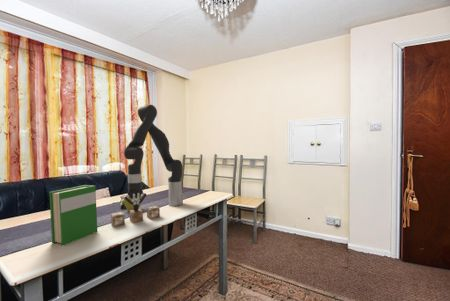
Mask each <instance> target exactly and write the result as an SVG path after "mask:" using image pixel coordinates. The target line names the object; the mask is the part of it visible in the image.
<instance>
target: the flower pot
mask: <svg viewBox="0 0 450 301" xmlns="http://www.w3.org/2000/svg"><path fill="white" fill-rule="evenodd" d="M128 197H129V198H128V199H129V200H130V201H131V202H132V199H131V198H130V196H128ZM141 197H142V195H141V196H140V198H141ZM140 198H139V200H140ZM135 200H136V199H135ZM123 201H124V206H125V208H126V210H127V211H129V212H130V210H133V204H130V203H129V202H128V201H127V200H126V199H125V198H124V197H123ZM135 202H136V201H135ZM141 204H142V203H139V208H140V207H141V206H142V205H141Z"/></svg>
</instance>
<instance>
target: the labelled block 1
mask: <svg viewBox="0 0 450 301" xmlns="http://www.w3.org/2000/svg"><path fill="white" fill-rule="evenodd" d="M125 219H126V218H125V213H124V212H123V211H119V212H113V213H110V224H111V226H112V228H115V227H122V226H125V225H126V222H125V221H126V220H125Z"/></svg>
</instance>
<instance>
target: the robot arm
mask: <svg viewBox="0 0 450 301" xmlns="http://www.w3.org/2000/svg"><path fill="white" fill-rule="evenodd" d="M157 110H158V109H157V108H156V106H155V105H154V104H147V105H144V106H140V107H139V108H138V109H137V115H138V117H139V120H140V122H142V123H141V124H140V125H139V126H138V127H137V129H136V130H135V131H134V134H133V136H132V139H131V141H130V142H129V143H128V144H127V146H126V148H124V152H123V154H124V158H125V159H127V160H131V161H132V160H134V162H133V163H130V164H128V165H127V173H128V175H127V190H128V191H127V192H126V195H124V196H123V199H124V198H125V199H126V200H127V201H128V202H129V203H130V204H133V210H134V211H138V209H140V207H139V203H141V204H142V203H143V201H144V200H145V198H146V197H147V196H148V195H147V193H145V192H144V191H143V181H142V180H143V179H142V164H143V158H144V150H143V149H142V148H141V147H144V144H145V141H146V138H147V135H148V134H149V135H150V138H151V139H152V142H153V143H154V146H155V147H156V149H157V151H158V153H159V154H160V157H161V159H162V161H163V164H164V166H165V169H166V170H167V171H168V172H171V176H169V177H168V179H167V180H168V184H167V185H168V205H169V206H170V207H177V206H178V207H179V206H181V205H183V204H184V198H183V197H184V194H183V193H184V192H183V191H182V177H183V162H182V161H181V160H180V159H174V158H173V157H172V155H171V153H170V142H169V140H168V138H167V135H166V134H165V132H163V131H162V130H161V129H160V128H158V127H157V126H156V125H155V124H154V122H155V119H156V118H157V116H158V111H157ZM128 196H130V198H131V199H132V202H131V201H130V200H129V199H128V198H129V197H128ZM140 196H142V197H141V198H140ZM139 198H140V200H139ZM135 199H136V200H135ZM135 201H136V202H135Z"/></svg>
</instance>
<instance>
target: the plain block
mask: <svg viewBox="0 0 450 301" xmlns="http://www.w3.org/2000/svg"><path fill="white" fill-rule="evenodd" d="M143 213H144V212H143V210H142V208H139V209H138V211H134V210H130V211H129V221H130V223H132V224H134V223H139V222H143V221H144V214H143Z"/></svg>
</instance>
